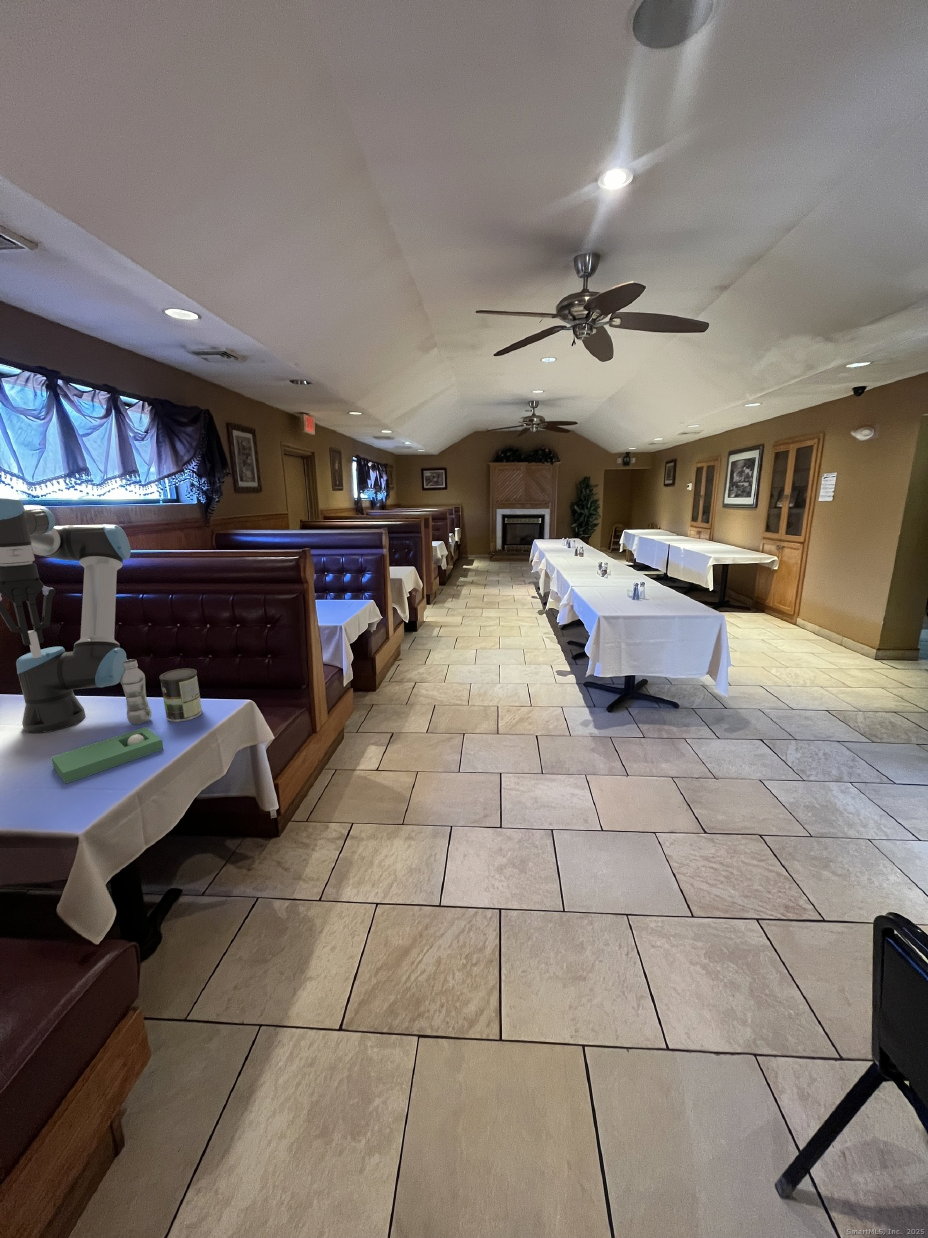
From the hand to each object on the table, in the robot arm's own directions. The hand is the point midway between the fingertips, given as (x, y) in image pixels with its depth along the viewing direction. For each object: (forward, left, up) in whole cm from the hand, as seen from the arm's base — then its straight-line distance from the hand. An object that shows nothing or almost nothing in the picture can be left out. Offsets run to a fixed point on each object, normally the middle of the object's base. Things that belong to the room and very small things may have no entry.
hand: (36, 656), depth 125 cm
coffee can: (-4, +33, -30) cm, 44 cm away
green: (+9, +9, -29) cm, 32 cm away
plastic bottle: (-9, +22, -30) cm, 38 cm away
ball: (+9, +15, -27) cm, 32 cm away
